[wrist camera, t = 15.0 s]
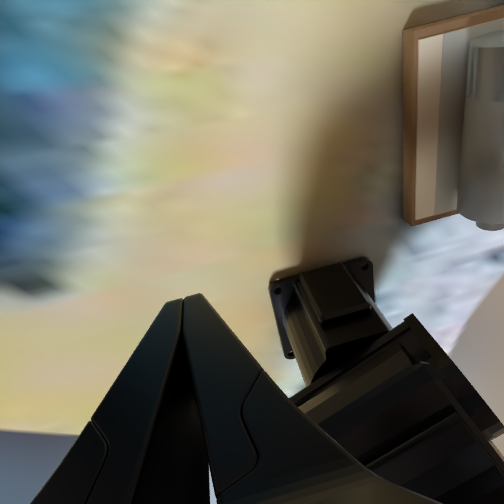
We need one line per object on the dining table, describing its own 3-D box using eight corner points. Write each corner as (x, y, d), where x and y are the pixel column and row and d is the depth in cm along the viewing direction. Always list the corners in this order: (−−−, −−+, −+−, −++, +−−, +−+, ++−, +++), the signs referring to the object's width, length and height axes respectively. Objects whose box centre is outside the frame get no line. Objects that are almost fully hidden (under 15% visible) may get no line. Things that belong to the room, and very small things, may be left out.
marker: (498, 203, 23) (545, 229, 20) (442, 218, 23) (482, 247, 20) (523, 23, 18) (592, 25, 15) (453, 42, 18) (508, 47, 15)
